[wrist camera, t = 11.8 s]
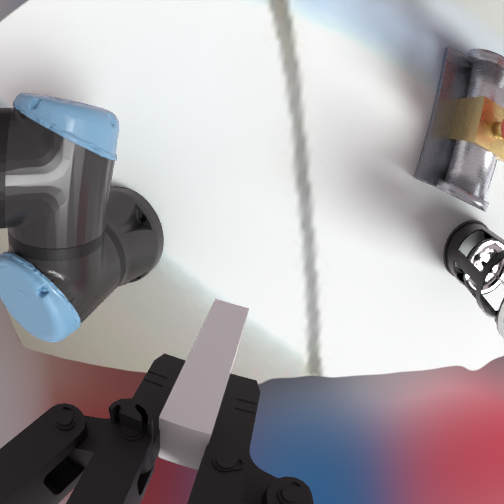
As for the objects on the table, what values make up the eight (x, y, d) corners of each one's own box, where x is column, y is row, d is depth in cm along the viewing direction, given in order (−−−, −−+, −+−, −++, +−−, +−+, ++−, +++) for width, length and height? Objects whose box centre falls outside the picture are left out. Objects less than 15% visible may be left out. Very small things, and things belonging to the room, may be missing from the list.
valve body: (478, 206, 36) (517, 229, 26) (414, 177, 36) (446, 194, 27) (508, 86, 28) (551, 83, 18) (445, 47, 28) (482, 30, 19)
